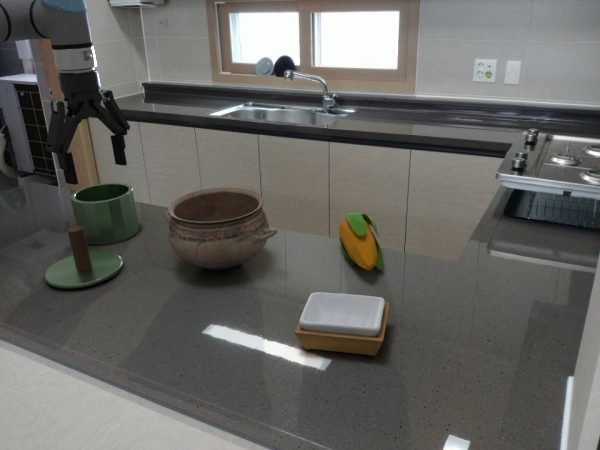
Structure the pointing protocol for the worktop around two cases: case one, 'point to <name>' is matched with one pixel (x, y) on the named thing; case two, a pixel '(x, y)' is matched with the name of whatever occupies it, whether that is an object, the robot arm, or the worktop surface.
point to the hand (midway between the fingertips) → (97, 173)
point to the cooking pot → (218, 227)
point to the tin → (106, 212)
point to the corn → (360, 241)
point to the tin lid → (82, 264)
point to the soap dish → (343, 323)
